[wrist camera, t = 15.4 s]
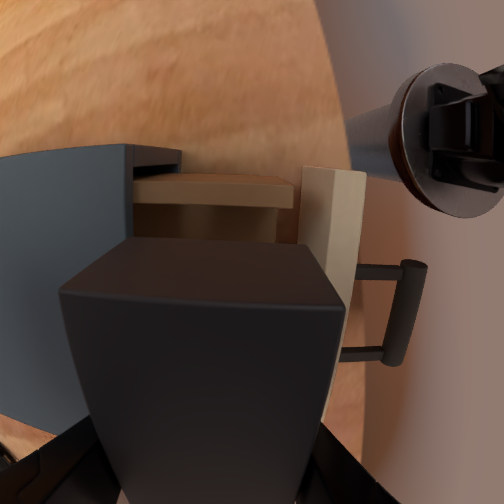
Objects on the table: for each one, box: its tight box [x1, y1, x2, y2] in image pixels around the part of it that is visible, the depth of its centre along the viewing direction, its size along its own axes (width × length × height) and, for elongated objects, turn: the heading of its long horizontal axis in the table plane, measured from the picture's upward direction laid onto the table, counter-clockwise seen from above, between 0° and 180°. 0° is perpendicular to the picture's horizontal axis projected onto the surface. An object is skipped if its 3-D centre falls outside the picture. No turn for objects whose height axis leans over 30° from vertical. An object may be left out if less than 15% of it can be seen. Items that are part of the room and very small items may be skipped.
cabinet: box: [0, 144, 181, 435], centre depth 15 cm, size 14×15×9 cm
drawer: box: [133, 166, 428, 423], centre depth 15 cm, size 17×13×7 cm
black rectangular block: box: [58, 237, 346, 504], centre depth 7 cm, size 4×10×4 cm, turn 177°
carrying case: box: [0, 446, 15, 471], centre depth 27 cm, size 11×3×15 cm
